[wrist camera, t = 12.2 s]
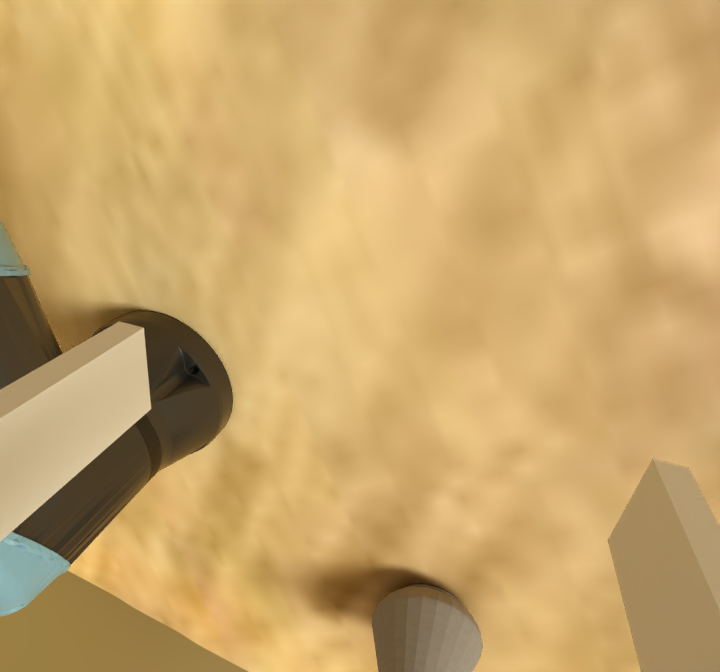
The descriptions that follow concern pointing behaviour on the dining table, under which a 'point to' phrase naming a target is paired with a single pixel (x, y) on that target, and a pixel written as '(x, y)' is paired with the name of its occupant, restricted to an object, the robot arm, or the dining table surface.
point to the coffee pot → (425, 632)
